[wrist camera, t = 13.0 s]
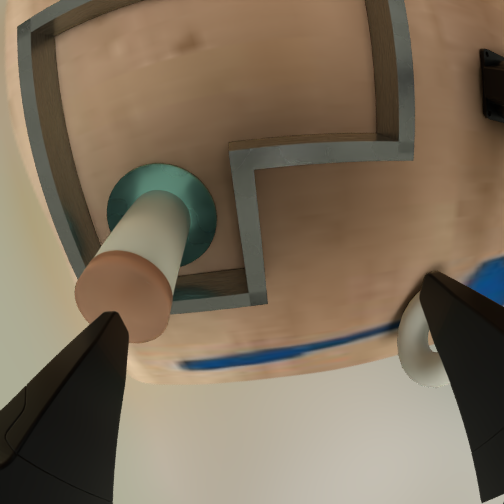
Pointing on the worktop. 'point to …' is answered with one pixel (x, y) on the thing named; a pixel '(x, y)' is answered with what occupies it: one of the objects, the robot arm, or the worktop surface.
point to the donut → (419, 348)
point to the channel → (185, 183)
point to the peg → (138, 266)
